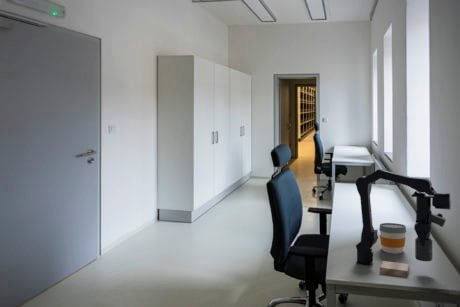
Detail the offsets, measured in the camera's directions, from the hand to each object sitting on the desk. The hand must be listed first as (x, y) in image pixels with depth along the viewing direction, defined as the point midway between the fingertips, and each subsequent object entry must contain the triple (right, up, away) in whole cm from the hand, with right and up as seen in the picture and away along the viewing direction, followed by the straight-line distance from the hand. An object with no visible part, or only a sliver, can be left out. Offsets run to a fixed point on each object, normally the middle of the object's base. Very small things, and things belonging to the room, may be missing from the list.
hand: (423, 243), depth 176 cm
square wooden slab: (-11, -13, +3) cm, 17 cm away
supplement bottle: (0, -7, 0) cm, 7 cm away
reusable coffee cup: (-1, -12, +30) cm, 32 cm away
